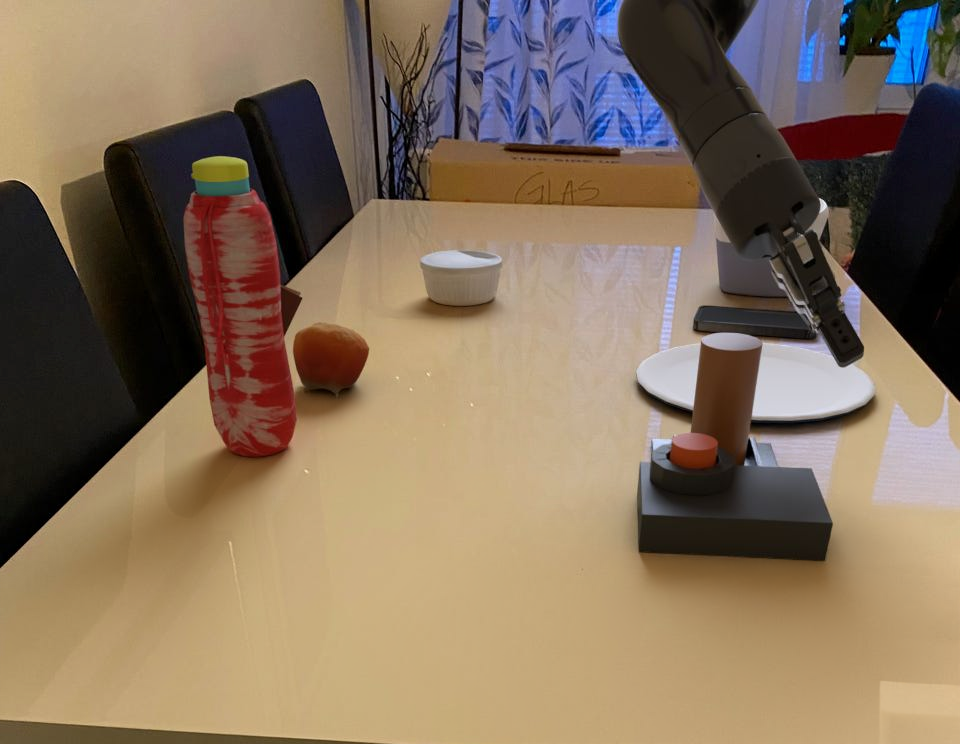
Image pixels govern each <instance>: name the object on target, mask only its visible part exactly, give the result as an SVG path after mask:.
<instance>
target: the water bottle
mask: <svg viewBox="0 0 960 744" xmlns="http://www.w3.org/2000/svg"><path fill="white" fill-rule="evenodd" d="M191 169H192V173H191V174H190V176H191V179H193V180H194V183H195V189H196V190H195V191H193V192H192V193H191V194H190V199H189V202H188V204H187V205H186V206H185V210H184V214H183V235H184V249H185V254H186V261H187V268H188V274H189V281H190V284H191V289H192V292H193V296H194V299H195V304H196V308H197V312H198V315H199V321H200V327H201V333H202V339H203V344H204V352H205V364H206V377H207V387H208V396H209V397H208V398H209V404H210V409H211V414H212V420H213V425H214V427H215V429H216V431H217V433H218V435H219V436H220V438H221V440H222V442H223V443H224V445H225V446H226V448H227V449H228V450H229V451H230V452H231V453H232V454H236V455H238V456H243V457H251V458H254V457H255V458H259V457H260V458H261V457H265V456H272V455H275V454H277V453H279V452H281V451H283V450H285V449H287V448H288V446H289V444H290V443H291V440H292V439H293V436H294V434H295V433H294V432H295V428H296V424H297V420H298V417H297V407H296V395H295V389H294V384H293V378H292V374H291V373H292V372H291V368H290V361H289V357H288V352H287V347H286V341H285V336H286V335H287V332H288V330H289V328H290V326H291V324H292V322H293V319H294V318H295V315H296V313H297V311H298V309H299V307H300V305H301V303H302V301H303V297H302V296H300V295H301V291H298V290H296V289H293V288H290V287H288V286H285V285H283V284H281V270H280V261H279V254H278V245H277V239H276V235H275V231H274V226H273V222H272V217H271V213H270V211H269V210H268V208H267V206H266V204H265V202H264V201H262V200H261V199H260V197H259V194H258V193H257V191H256V190H254V189H253V188H250V187H251V186H250V180H249V177H250V174H249V173H250V172H249V166H248V163H247V161H246V160H244V159H242V158H238V157H232V156H223V155H217V156H211V157H210V156H209V157H206V158H201V159H199V160H196V161H194V162H192V165H191Z"/></svg>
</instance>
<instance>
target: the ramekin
mask: <svg viewBox="0 0 960 744" xmlns="http://www.w3.org/2000/svg"><path fill="white" fill-rule="evenodd" d="M419 260H420V261H419V266H420V269H421V270H422V275H423V281H424V285H425V291H426V294H427V296H428V297H429V298H430V299H431V300H432V301H433V302H434V303H437V304H440V305H445V306H456V307H467V306H468V307H469V306H478V305H482V304H486V303H489V302H490V301H492V300H493V299H494V297H496V295H497V293H498V287H499V282H500V276H501V269H502V268H503V263H504V261H503V258H502V257H501V256H499V255H497V254H495V253H492V252H489V251H481V250H471V249H454V250H453V249H452V250H451V249H450V250H440V251H436V252H431V253H428V254H426V255H423V256H422V257H421V258H420V259H419Z"/></svg>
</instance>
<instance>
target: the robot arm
mask: <svg viewBox="0 0 960 744" xmlns="http://www.w3.org/2000/svg"><path fill="white" fill-rule="evenodd" d="M759 2H760V0H622V2H621V6H620V8H619V11H618V16H617V25H616V26H617V27H616V28H617V37H618V42H619V45H620V47H621V50H622V52H623V54H624V57H626V59H627V61H628V63H629V65H630V66H631V68H632V69H633V70H634V72H635V74H636V75H637V77H638V78H639V80H640V81H641V82H642V85H644V87H645V88H646V90H647V92H648V93H649V94H650V96H651V97H652V98H653V100H654V101H655V103H656V104H657V105H658V107H659V108H660V110H661V111H662V112H663V114H664V116H665V117H666V119H667V121H668V123H669V125H670V128H671V129H672V131H673V133H674V136H675V138H676V140H677V142H678V145H679V146H680V148H681V149H682V152H683V153H684V155H685V157H686V159H687V160H688V162H689V164H690V166H691V167H692V169H693V171H694V173H695V176H696V177H697V180H698V183H699V186H700V189H701V191H702V194H703V195H704V197H705V199H706V201H707V203H708V205H709V206H710V208H711V210H712V212H713V214H714V213H715V215H716V217H717V219H718V221H719V222H720V224H721V226H722V228H723V230H724V232H725V233H726V235H727V237H728V239H729V240H730V242H731V244H732V246H733V248H734V249H735V251H736V253H737V255H738V256H739V257H740V258H741V259H743V260H746V261H756V260H760V259H761V258H765V257H772V258H771V259H769V261H770V263H771V266H772V268H773V270H772V271H771V273H772V275H773V277H774V279H775V281H776V283H777V284H778V286H779V288H781V289H783V290H785V292H786V294H787V295H788V297H787V298H788V299H789V304H790V306H791V307H793V308H794V310H795V311H796V312H798V313H799V315H800V316H801V317H802V318H803V320H804V321H805V322H806V324H807V325H808V327H809V329H810V330H811V331H813V333H816V332H817V334H819V335H820V336H821V338H822V340H823V341H824V343H825V345H826V347H827V349H828V350H829V352H830V354H831V356H833V358H834V359H835V361H836V363H837V365H838V366H839V367H842V368H844V367H847V366H848V365H850V364H852V365H853V364H854V363H856V362H858V361H859V360H861V359H862V358H863V357H864V354H865V345H864V344H863V342H862V340H861V339H860V337H859V335H858V333H857V332H856V330H855V328H854V326H853V324H852V323H851V321H850V319H849V317H848V316H847V314H846V308H845V306H846V305H845V302H844V300H841V297H842V293H841V292H842V290H841V287H840V286H839V285H838V283H837V281H836V274H835V273H834V271H833V269H832V267H831V266H830V264H829V262H828V260H827V258H826V255H825V253H824V251H823V245H822V242H821V241H820V239H818V236H817V234H816V232H814V231H813V230H812V229H810V230H809V231H807V230H808V229H809V228H810V226H811V225H812V224H813V223H814V221H815V220H816V218H817V216H818V214H819V212H820V207H821V204H820V200H819V198H820V197H819V196H818V195H817V193H816V191H815V190H814V188H813V186H812V184H811V182H810V180H809V179H808V178H807V175H806V173H805V172H804V171H803V169H802V167H801V165H800V163H799V161H798V160H797V159H796V157H795V155H794V153H793V151H792V149H791V148H790V146H789V145H788V143H787V142H786V139H785V138H784V137H783V135H782V134H781V132H780V131H779V130H778V128H777V127H776V126H774V124H773V123H772V121H771V120H770V119H769V117H768V116H767V114H766V112H765V110H764V108H763V107H762V105H761V103H760V102H759V100H758V98H757V96H756V95H755V93H754V91H753V90H752V88H751V86H750V85H749V83H748V82H747V81H746V80H745V78H744V77H743V75H742V74H741V73H740V72H739V70H738V69H737V68H736V67H735V65H734V64H732V62H731V61H730V59H729V58H728V56H727V55H726V54H727V53H728V51H729V49H730V48H731V46H732V45H733V43H734V42H735V40H737V37H738V36H739V34H740V33H741V31H742V29H743V28H744V26H745V25H746V23H747V22H748V20H749V19H750V17H751V15H752V13H753V12H754V10H755V8H756V7H757V5H758V3H759ZM806 231H807V232H806Z"/></svg>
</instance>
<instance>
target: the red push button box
mask: <svg viewBox="0 0 960 744" xmlns="http://www.w3.org/2000/svg"><path fill="white" fill-rule="evenodd" d="M670 452H671V443H670V444H665V445H661V446H660V447H658V448H657V449H655V450H654V451H652V450H651V453H650V461H639V466H638V467H639V468H638V477H637V479H638V481H637V492H636V507H637V508H636V510H637V513H636V514H637V540H638V541H637V543H638V544H637V545H638V546H637V547H638V552H639V553H655V554H657V553H659V554H675V555H678V554H680V555H696V556H698V555H699V556H719V557H739V558H757V559H758V558H759V559H760V558H761V559H778V560H779V559H781V560H782V559H783V560H801V561H821V562H823V561H826V558H827V554H828V548H829V544H830V540H831V534H832V530H833V526H834V522H833V519H832V518H831V515H830V512H829V510H828V507H827V503H826V502H825V499H824V497H823V494H822V491H821V489H820V487H819V484H818V482H817V479H816V475H815V474H814V472H813V471H814V470H813V468H812V467H792V466H791V467H788V466H778V467H766V466H740V465H735V460H734V456H733V454H731V453H729V452H728V451H726V450H724V449H723V448H721V447H717V455H716V463H715V465H714V466H712V467H707V468H702V469H700V468H686V467H682V466H678V465H675V464H673V463H672V462H670Z"/></svg>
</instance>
